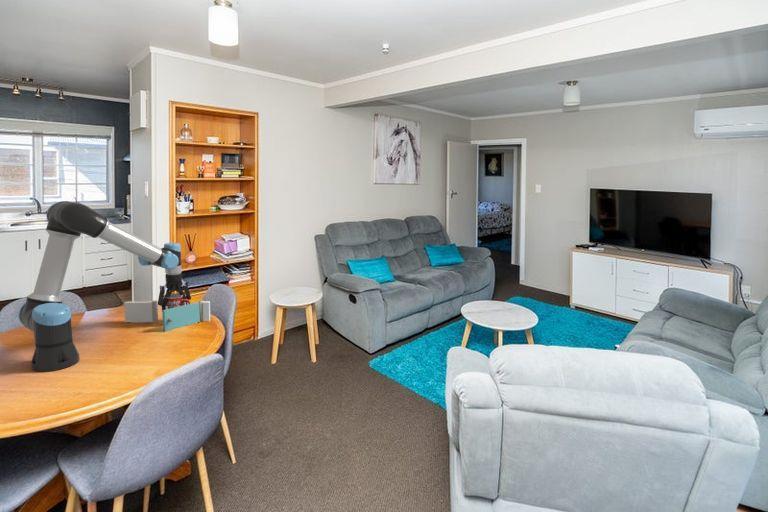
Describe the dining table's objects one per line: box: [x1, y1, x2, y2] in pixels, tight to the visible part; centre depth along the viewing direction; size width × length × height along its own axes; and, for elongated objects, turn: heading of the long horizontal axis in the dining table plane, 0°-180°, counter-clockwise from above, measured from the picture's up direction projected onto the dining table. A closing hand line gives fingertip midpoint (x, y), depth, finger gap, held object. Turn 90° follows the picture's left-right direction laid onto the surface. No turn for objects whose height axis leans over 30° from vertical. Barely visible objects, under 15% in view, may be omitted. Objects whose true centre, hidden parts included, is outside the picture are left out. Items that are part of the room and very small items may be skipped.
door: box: [161, 301, 200, 332], centre depth 216 cm, size 4×19×10 cm, turn 148°
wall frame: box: [123, 300, 211, 323], centre depth 223 cm, size 2×41×11 cm, turn 99°
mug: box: [164, 292, 191, 309], centre depth 220 cm, size 13×9×14 cm
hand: (175, 315), depth 221 cm, fingers closed on mug, 9 cm apart
